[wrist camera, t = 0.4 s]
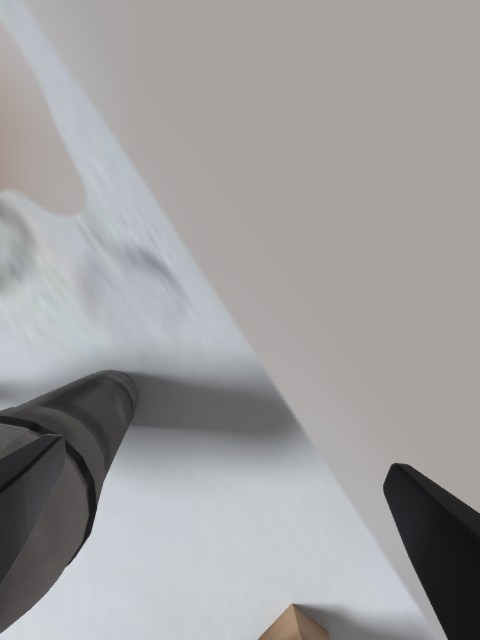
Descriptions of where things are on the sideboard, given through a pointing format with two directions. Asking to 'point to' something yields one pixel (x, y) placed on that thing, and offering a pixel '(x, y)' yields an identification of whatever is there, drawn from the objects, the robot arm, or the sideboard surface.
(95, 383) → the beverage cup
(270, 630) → the block
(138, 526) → the sideboard surface
